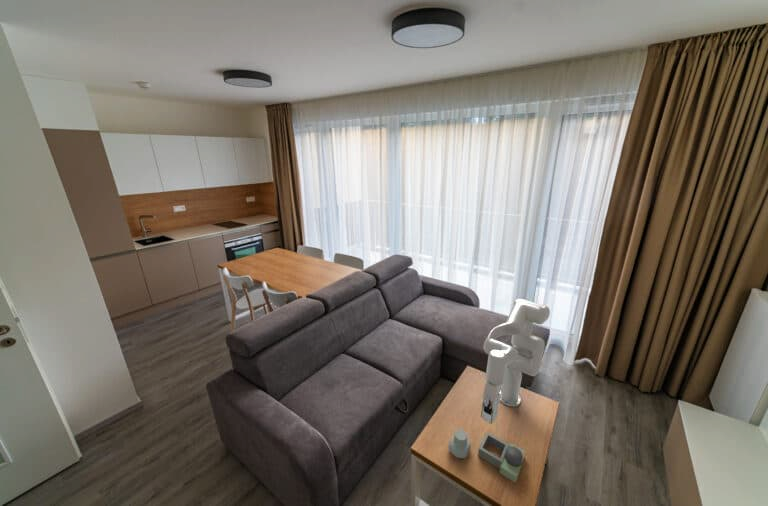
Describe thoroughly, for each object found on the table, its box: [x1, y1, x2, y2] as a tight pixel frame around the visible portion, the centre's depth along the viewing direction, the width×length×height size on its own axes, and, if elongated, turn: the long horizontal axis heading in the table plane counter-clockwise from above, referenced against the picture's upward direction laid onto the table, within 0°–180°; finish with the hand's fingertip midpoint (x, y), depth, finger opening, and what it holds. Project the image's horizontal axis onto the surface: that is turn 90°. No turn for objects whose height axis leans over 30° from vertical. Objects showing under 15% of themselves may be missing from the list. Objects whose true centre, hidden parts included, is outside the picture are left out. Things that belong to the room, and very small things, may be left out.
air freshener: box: [448, 429, 472, 459], centre depth 135 cm, size 11×8×10 cm
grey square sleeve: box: [477, 431, 526, 484], centre depth 132 cm, size 14×17×7 cm
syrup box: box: [480, 393, 501, 425], centre depth 132 cm, size 6×6×14 cm
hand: (490, 407), depth 133 cm, fingers closed on syrup box, 6 cm apart
